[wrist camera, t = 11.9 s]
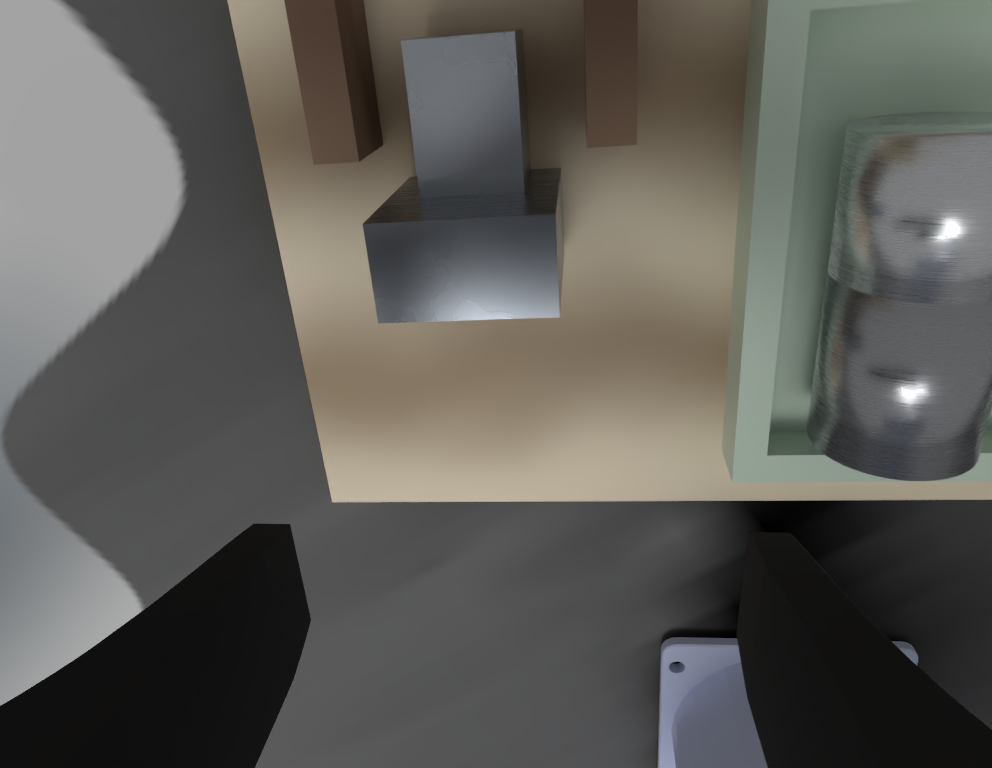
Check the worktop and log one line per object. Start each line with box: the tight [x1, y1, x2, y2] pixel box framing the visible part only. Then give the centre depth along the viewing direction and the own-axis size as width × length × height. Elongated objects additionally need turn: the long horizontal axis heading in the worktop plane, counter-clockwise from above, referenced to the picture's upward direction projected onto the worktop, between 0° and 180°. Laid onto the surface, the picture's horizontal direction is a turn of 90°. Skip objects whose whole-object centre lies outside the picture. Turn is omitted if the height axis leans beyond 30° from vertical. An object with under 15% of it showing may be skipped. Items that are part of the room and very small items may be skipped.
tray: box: [722, 0, 992, 483], centre depth 17 cm, size 12×8×2 cm, turn 4°
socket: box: [284, 0, 638, 165], centre depth 15 cm, size 5×7×2 cm
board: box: [227, 0, 992, 502], centre depth 17 cm, size 21×20×1 cm
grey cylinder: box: [807, 112, 992, 481], centre depth 16 cm, size 7×4×4 cm, turn 4°
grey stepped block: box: [363, 28, 564, 323], centre depth 16 cm, size 5×4×4 cm
